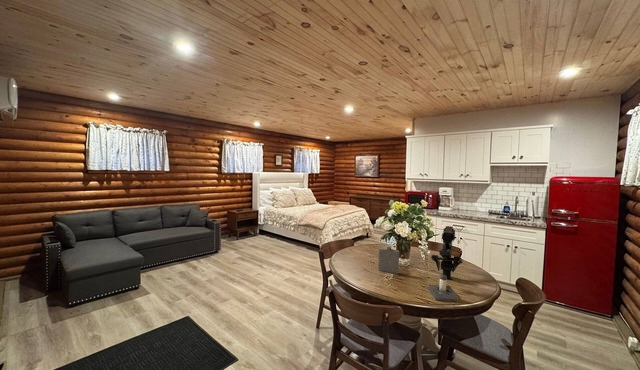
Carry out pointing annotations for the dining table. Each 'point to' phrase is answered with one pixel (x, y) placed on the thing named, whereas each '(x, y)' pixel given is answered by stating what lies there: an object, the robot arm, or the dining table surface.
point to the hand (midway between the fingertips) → (445, 271)
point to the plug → (443, 283)
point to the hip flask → (388, 260)
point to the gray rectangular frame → (443, 293)
